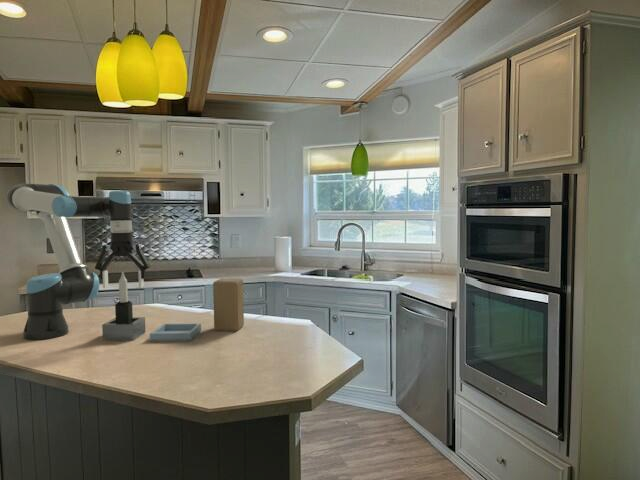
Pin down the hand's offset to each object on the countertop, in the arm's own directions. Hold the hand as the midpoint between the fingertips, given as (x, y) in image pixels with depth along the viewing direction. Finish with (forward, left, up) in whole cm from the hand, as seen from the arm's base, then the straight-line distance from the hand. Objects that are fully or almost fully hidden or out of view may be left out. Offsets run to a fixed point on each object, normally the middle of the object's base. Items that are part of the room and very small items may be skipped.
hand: (123, 287), depth 175 cm
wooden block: (+38, +11, -19) cm, 44 cm away
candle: (0, 0, -19) cm, 19 cm away
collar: (0, 0, -19) cm, 19 cm away
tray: (+20, 0, -19) cm, 27 cm away
